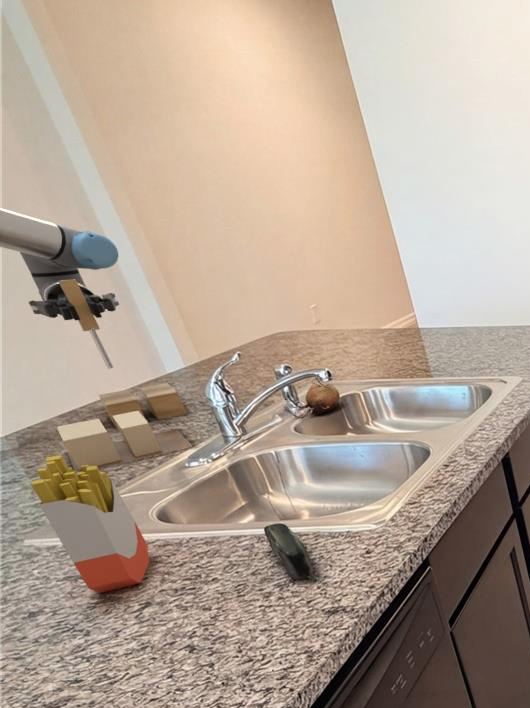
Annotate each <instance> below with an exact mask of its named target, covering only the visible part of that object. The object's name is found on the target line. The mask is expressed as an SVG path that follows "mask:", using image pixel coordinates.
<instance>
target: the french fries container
mask: <svg viewBox="0 0 530 708" xmlns="http://www.w3.org/2000/svg"><path fill="white" fill-rule="evenodd" d="M45 465H46V466H47V467H42V468H39V469H38V470H36V473H37V475H38V476H39V478H40V479H37V480H32V481H31V482H30V487H31V488H32V489H33V491H34V493H35V494H36V496H37V497H38V499H39V500H40V503H38V505H39V507H40V509H41V510H42V512H43V514H44V515H45V517H46V518H47V520H48V523H49V524H50V526H51V528H52V529H53V530H54V532H55V534H56V536H57V537H58V539H59V541H60V543H61V545H62V546H63V548H64V550H65V551H66V553H67V554H68V556H69V558H70V559H71V561H72V563H73V565H74V567H75V568H76V570H77V571H78V573H79V575H80V576H81V579H82V580H83V582H84V584H85V585H86V586H87V589H89V590H91V591H93V592H96V593H98V594H101V593H105V592H110V591H115V590H118V589H123V588H127V587H130V586H135V585H138V584H141V583H142V581H143V579H144V577H145V574H146V573H147V569H148V568H149V565H150V562H151V559H150V555H149V548H148V543H147V542H146V540H145V538H144V536H143V534H142V532H141V530H140V529H139V526H138V525H137V522H136V521H135V519H134V517H133V515H132V514H131V512H130V510H129V508H128V506H127V505H126V503H125V501H124V499H123V497H122V496H121V494H120V492H119V490H118V488H117V487H116V485H115V483H114V481H113V480H112V478H110V477H108V474H107V473H106V472H105V471H100V469H98V467H97V466H89V465H83V466H81V468H82V470H83V471H79V472H75V470H74V468H73V466H71V467H69V466H68V464H67V462H66V460H65V458H64V457H63V454H59V455H53V456H47V457H46V460H45Z"/></svg>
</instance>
